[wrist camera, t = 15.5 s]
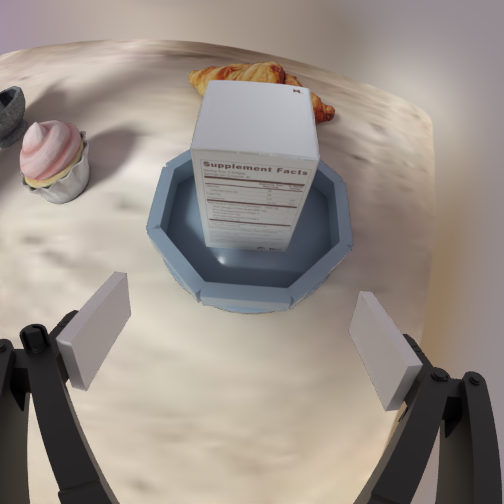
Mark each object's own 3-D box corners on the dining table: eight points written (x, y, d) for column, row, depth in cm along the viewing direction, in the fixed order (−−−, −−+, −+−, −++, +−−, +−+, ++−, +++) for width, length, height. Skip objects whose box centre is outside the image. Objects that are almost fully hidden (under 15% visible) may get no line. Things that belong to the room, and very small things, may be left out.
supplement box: (213, 183, 30) (207, 76, 18) (287, 189, 30) (313, 85, 19) (203, 249, 27) (185, 147, 15) (286, 256, 27) (324, 159, 15)
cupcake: (116, 177, 31) (88, 110, 22) (54, 231, 28) (7, 175, 18) (82, 143, 33) (57, 85, 24) (29, 188, 30) (-9, 137, 21)
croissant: (182, 113, 41) (160, 89, 33) (209, 61, 40) (194, 32, 32) (320, 155, 38) (325, 133, 30) (342, 96, 37) (349, 66, 29)
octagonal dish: (141, 303, 25) (129, 291, 22) (177, 150, 33) (173, 128, 30) (344, 319, 26) (359, 309, 22) (332, 163, 33) (340, 143, 30)
